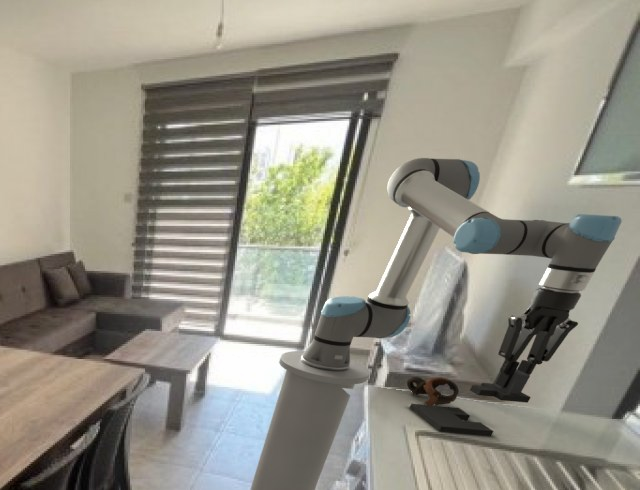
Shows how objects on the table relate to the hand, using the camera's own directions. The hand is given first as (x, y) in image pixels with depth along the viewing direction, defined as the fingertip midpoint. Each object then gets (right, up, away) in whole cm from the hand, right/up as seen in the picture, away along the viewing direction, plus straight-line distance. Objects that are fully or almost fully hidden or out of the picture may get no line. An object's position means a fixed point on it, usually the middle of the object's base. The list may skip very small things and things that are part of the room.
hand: (507, 385), depth 119 cm
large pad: (-10, -9, +6) cm, 14 cm away
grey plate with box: (-2, -2, +1) cm, 3 cm away
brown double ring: (-6, -3, +18) cm, 19 cm away
